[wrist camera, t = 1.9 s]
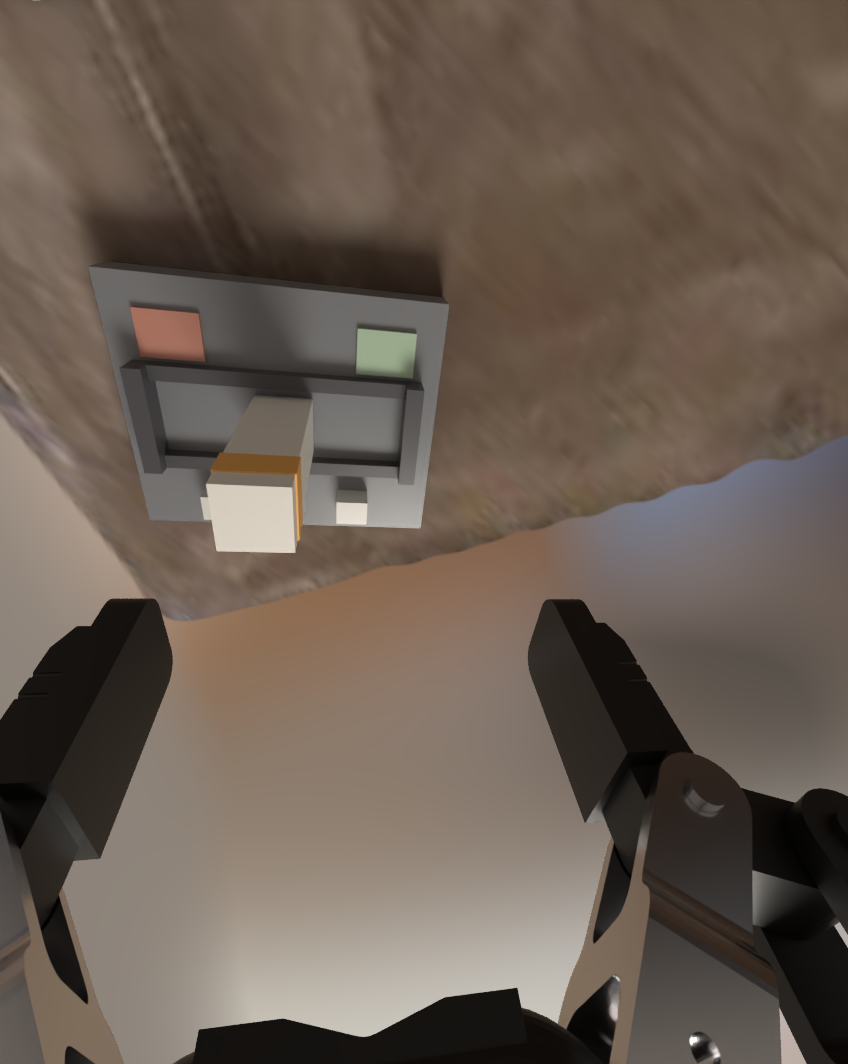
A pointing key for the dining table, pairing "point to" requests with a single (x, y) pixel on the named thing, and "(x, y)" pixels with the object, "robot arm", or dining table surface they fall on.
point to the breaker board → (275, 383)
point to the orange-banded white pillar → (263, 477)
